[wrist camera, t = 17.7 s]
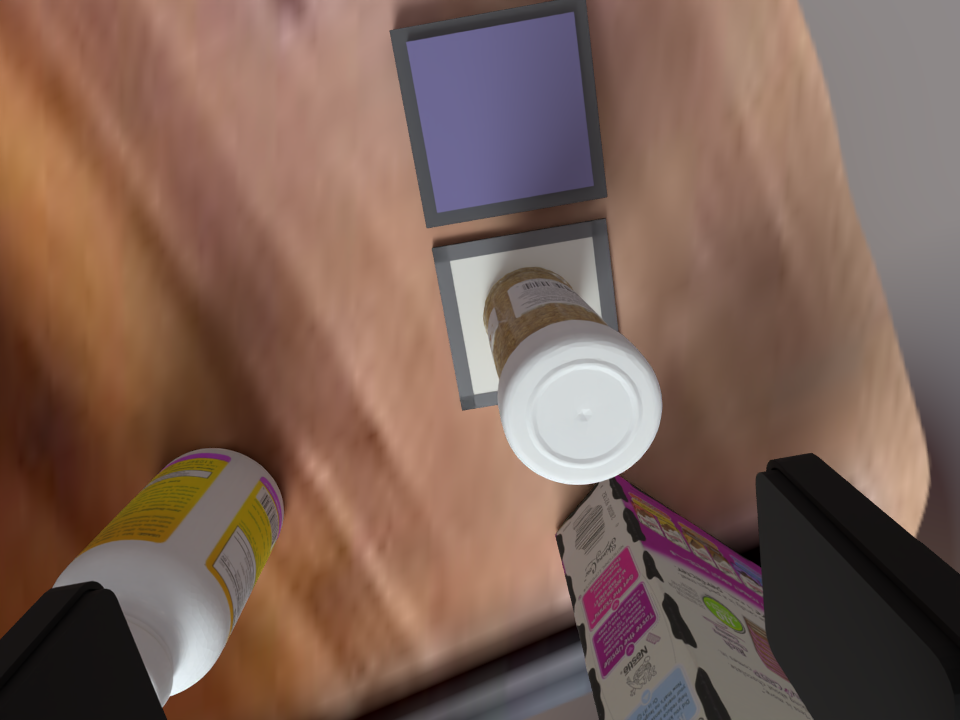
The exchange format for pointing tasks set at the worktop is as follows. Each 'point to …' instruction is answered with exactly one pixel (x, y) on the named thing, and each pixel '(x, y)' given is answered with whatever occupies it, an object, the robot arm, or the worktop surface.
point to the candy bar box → (668, 615)
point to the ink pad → (502, 111)
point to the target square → (486, 261)
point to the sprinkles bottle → (567, 381)
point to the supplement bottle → (186, 560)
